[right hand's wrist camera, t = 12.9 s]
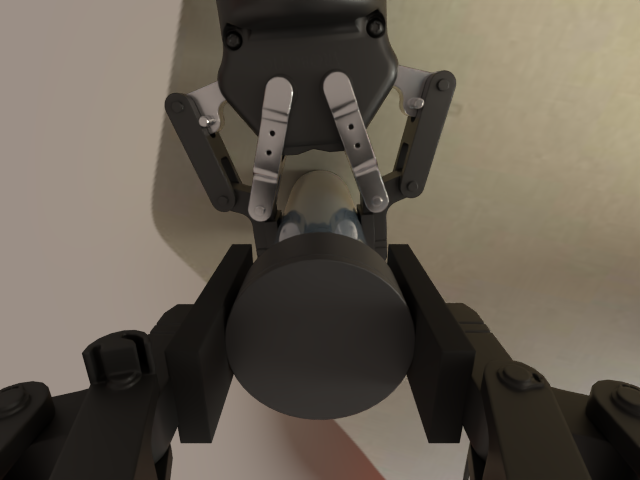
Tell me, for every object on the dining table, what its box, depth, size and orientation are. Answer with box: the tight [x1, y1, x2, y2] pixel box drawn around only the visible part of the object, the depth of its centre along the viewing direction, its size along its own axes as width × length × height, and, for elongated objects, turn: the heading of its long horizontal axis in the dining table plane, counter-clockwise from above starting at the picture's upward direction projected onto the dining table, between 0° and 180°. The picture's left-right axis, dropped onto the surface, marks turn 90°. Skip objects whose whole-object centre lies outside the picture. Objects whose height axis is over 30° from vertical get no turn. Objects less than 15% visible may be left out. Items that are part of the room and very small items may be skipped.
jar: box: [272, 170, 368, 246], centre depth 18 cm, size 4×4×16 cm
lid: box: [225, 232, 416, 420], centre depth 11 cm, size 5×5×2 cm
